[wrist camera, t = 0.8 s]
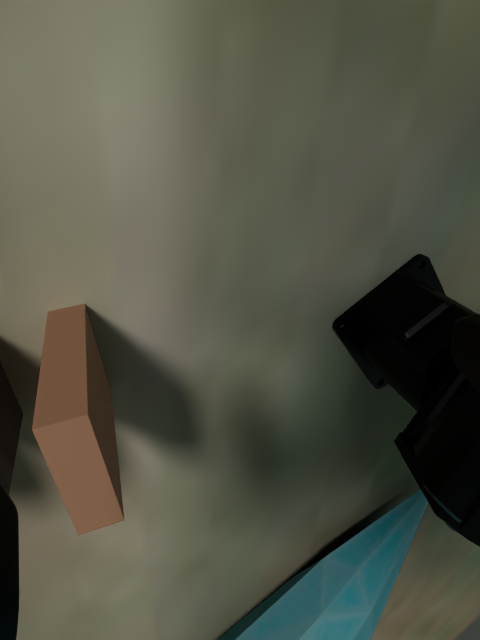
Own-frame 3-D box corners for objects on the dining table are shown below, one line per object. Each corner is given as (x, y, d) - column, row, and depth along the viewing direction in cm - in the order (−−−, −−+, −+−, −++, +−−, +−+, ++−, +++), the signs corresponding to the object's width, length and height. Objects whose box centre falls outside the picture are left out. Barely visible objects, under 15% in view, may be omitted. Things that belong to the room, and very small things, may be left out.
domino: (84, 303, 20) (87, 414, 13) (110, 390, 22) (124, 520, 16) (48, 311, 20) (31, 429, 13) (78, 398, 22) (78, 535, 15)
